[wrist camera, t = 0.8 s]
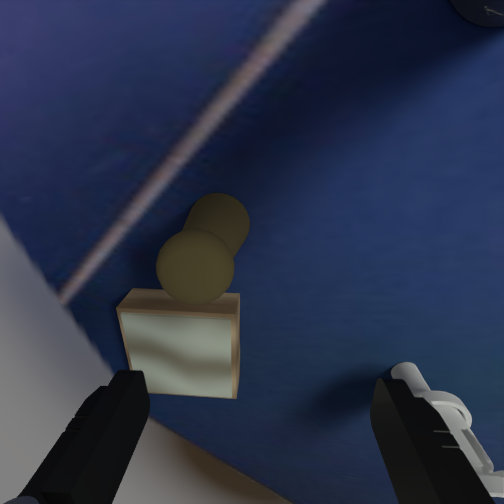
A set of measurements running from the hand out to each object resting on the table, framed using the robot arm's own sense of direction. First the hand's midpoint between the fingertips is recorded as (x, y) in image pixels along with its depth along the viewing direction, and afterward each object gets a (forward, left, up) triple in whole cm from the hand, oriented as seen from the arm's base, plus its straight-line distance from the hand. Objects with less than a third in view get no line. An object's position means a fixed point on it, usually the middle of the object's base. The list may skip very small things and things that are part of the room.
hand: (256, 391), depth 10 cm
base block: (+14, -9, -19) cm, 25 cm away
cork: (0, -5, -19) cm, 20 cm away
